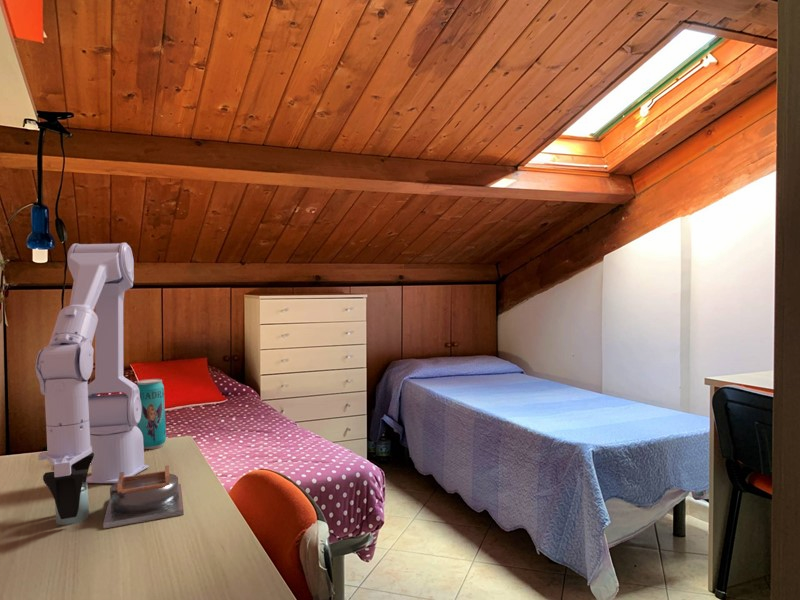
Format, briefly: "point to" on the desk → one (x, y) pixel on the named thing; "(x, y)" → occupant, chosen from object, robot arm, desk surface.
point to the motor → (143, 498)
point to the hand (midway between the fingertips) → (72, 509)
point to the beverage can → (152, 413)
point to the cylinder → (82, 511)
